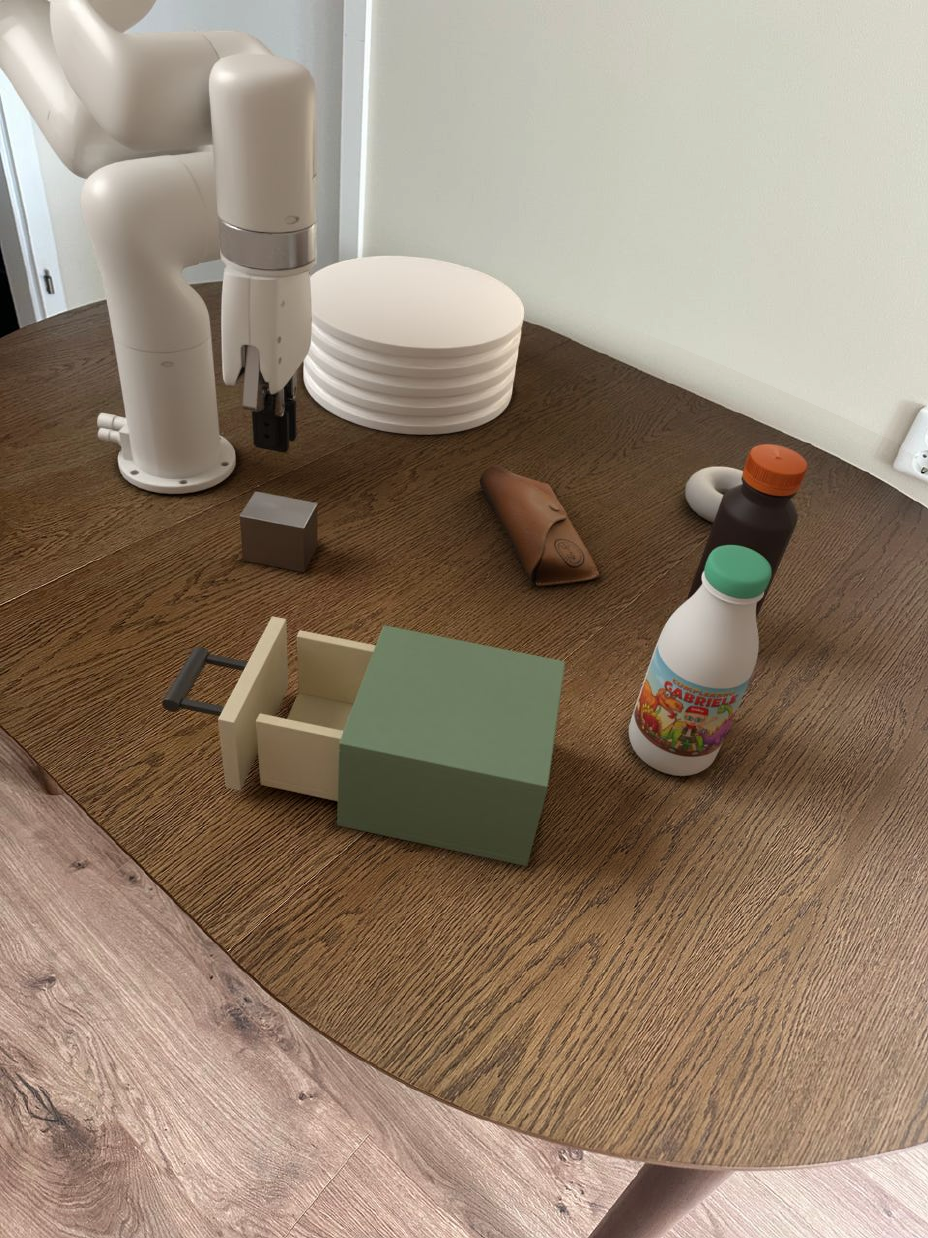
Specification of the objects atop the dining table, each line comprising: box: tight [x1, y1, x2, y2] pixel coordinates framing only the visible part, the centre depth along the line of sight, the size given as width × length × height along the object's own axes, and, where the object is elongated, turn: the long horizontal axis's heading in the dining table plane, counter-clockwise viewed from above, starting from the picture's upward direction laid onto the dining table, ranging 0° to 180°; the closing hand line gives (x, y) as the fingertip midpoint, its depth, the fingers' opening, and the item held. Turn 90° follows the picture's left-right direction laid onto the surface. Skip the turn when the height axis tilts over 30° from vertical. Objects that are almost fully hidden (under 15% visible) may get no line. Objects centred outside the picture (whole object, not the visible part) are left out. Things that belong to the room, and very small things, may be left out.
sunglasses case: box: [479, 464, 600, 587], centre depth 99 cm, size 18×7×7 cm
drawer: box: [161, 615, 376, 802], centre depth 71 cm, size 19×11×8 cm, turn 80°
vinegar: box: [685, 443, 809, 620], centre depth 84 cm, size 7×7×20 cm
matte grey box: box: [239, 491, 318, 573], centre depth 91 cm, size 6×4×6 cm
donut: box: [684, 466, 743, 524], centre depth 106 cm, size 10×4×10 cm
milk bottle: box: [628, 545, 772, 777], centre depth 72 cm, size 8×8×20 cm
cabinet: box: [336, 625, 566, 867], centre depth 70 cm, size 15×13×10 cm
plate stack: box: [302, 255, 525, 436], centre depth 119 cm, size 28×28×12 cm
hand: (275, 441), depth 84 cm, fingers closed
